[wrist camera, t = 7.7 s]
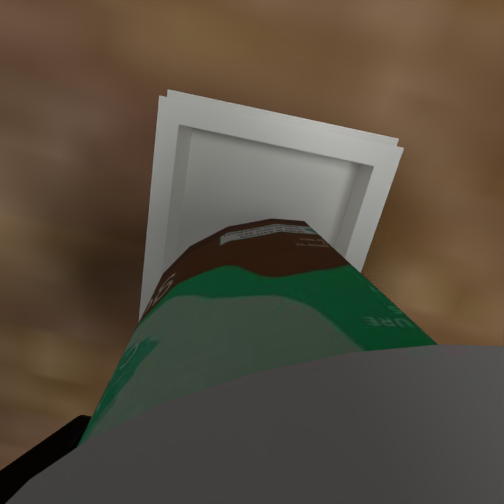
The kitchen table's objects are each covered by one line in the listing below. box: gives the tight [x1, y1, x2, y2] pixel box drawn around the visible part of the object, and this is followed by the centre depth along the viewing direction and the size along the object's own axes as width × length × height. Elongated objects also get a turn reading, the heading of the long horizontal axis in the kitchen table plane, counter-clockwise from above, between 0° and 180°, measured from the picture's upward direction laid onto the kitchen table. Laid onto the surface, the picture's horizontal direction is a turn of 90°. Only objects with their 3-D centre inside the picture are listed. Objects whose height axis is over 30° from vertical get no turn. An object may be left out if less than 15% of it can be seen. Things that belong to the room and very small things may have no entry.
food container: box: [5, 218, 504, 504], centre depth 8 cm, size 12×6×10 cm, turn 168°
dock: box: [138, 89, 404, 323], centre depth 20 cm, size 12×24×4 cm, turn 169°
